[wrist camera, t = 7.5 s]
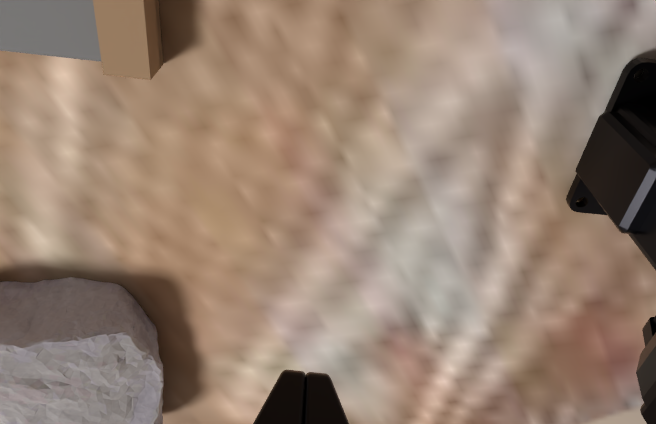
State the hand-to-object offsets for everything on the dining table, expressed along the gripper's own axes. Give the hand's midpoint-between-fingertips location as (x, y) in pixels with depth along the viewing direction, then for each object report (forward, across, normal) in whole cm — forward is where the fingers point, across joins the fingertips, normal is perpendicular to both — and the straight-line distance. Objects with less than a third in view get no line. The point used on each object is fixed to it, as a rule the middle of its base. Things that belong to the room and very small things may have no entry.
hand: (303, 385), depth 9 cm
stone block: (+13, +11, +17) cm, 24 cm away
